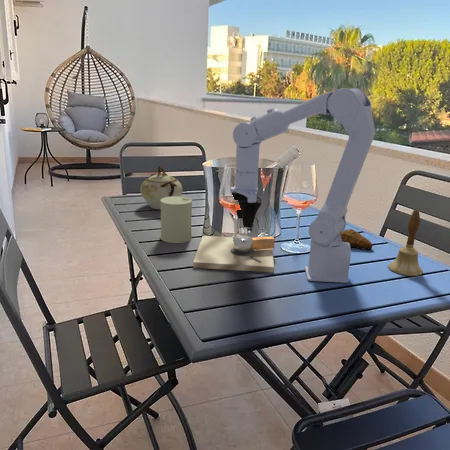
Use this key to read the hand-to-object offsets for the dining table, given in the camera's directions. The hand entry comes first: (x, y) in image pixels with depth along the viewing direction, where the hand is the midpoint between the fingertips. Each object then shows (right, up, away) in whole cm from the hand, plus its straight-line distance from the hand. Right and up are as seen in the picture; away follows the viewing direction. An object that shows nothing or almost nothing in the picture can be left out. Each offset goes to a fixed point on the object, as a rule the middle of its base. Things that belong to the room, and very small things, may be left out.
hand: (244, 222), depth 118 cm
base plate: (-2, -9, +4) cm, 10 cm away
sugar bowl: (-28, +6, +46) cm, 54 cm away
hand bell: (+41, -12, -2) cm, 43 cm away
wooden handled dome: (+3, -7, +3) cm, 8 cm away
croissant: (+32, -7, +15) cm, 36 cm away
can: (-19, -5, +15) cm, 25 cm away
